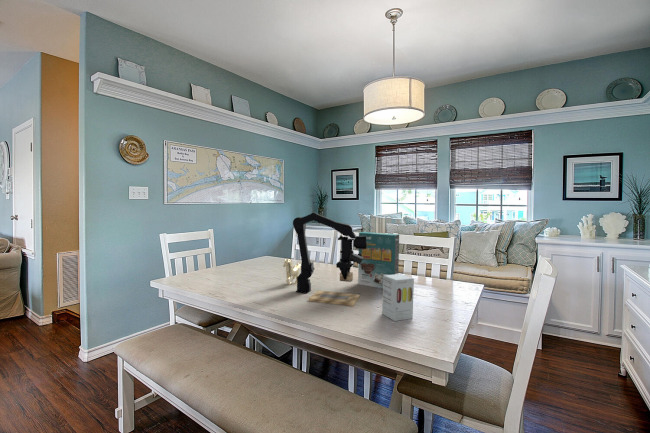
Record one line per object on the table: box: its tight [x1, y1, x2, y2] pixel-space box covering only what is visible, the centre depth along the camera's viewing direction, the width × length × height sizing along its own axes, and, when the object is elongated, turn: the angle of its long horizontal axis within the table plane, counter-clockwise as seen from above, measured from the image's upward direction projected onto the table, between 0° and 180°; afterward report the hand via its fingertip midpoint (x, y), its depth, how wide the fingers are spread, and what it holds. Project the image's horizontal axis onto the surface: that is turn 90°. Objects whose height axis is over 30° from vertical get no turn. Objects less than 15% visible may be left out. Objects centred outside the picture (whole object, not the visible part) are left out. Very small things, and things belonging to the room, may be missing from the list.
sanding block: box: [339, 271, 354, 283], centre depth 160 cm, size 6×4×4 cm, turn 72°
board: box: [307, 290, 360, 307], centre depth 151 cm, size 22×14×1 cm, turn 73°
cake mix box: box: [357, 231, 400, 289], centre depth 175 cm, size 22×6×30 cm, turn 58°
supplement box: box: [381, 273, 415, 322], centre depth 129 cm, size 10×9×17 cm
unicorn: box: [282, 258, 301, 286], centre depth 177 cm, size 20×4×17 cm, turn 156°
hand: (346, 278), depth 160 cm, fingers closed on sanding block, 4 cm apart
